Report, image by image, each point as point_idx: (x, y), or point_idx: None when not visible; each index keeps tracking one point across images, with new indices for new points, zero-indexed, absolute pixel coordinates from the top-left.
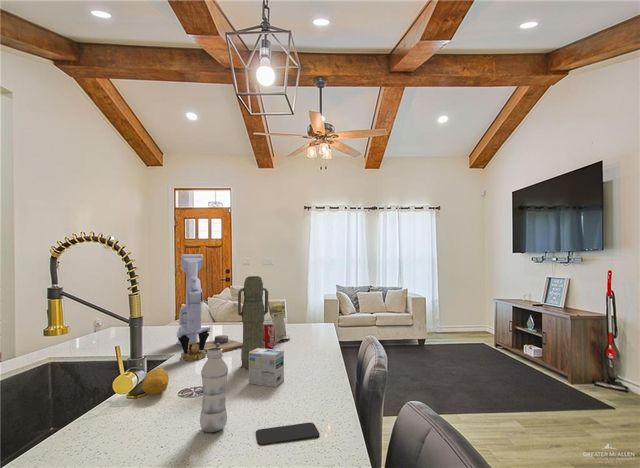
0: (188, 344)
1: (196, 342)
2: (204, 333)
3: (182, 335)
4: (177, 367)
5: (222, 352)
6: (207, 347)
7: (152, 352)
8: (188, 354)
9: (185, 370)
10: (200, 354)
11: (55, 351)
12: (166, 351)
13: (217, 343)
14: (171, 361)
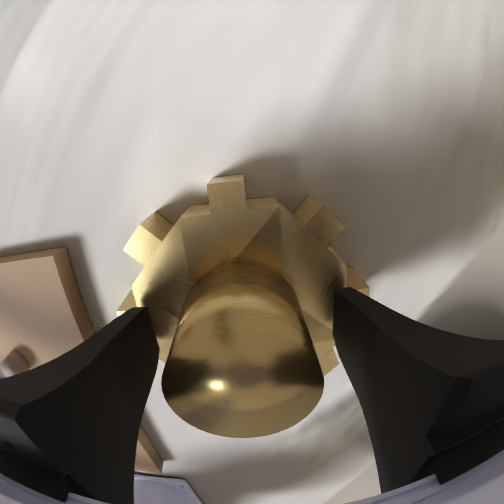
0: (316, 394)
1: (196, 398)
2: (34, 458)
3: (498, 458)
4: (462, 120)
5: (9, 256)
6: None
7: (350, 473)
8: (318, 287)
9: (443, 17)
10: (216, 191)
11: None
12: (300, 470)
13: (11, 375)
14: (416, 299)
